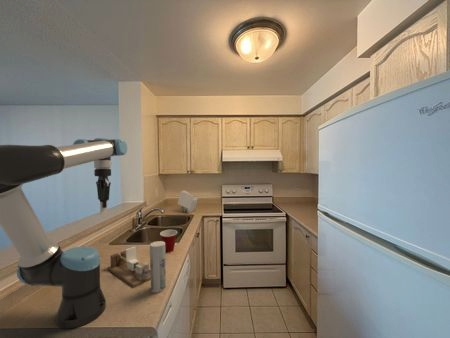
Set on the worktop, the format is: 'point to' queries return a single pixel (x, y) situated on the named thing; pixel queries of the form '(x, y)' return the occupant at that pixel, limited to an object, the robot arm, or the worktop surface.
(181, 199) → the tissue box
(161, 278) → the spray can
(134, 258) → the white l-shaped block
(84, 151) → the robot arm
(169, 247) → the plastic cup
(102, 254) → the worktop surface
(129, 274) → the board
